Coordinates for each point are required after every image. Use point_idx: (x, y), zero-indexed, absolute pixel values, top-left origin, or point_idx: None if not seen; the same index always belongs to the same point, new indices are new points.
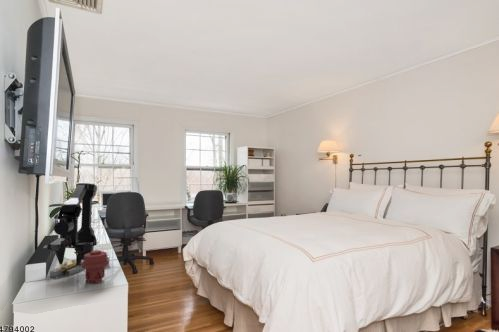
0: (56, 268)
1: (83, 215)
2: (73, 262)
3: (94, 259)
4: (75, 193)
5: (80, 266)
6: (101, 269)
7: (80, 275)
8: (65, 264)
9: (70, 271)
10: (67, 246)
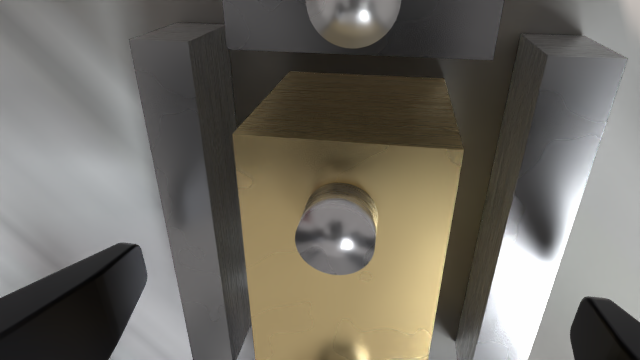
0: (582, 152)
1: None
2: (289, 351)
3: None
4: None
5: (185, 295)
6: None
7: (19, 70)
8: (309, 195)
9: (145, 68)
10: None
